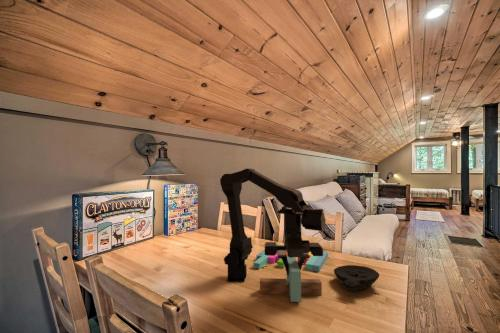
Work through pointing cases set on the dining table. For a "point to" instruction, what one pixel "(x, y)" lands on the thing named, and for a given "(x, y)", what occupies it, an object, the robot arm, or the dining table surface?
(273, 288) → the walnut rail
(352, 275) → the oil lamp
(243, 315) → the dining table surface
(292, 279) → the teal plate
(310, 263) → the tetris game
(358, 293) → the dining table surface
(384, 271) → the dining table surface
